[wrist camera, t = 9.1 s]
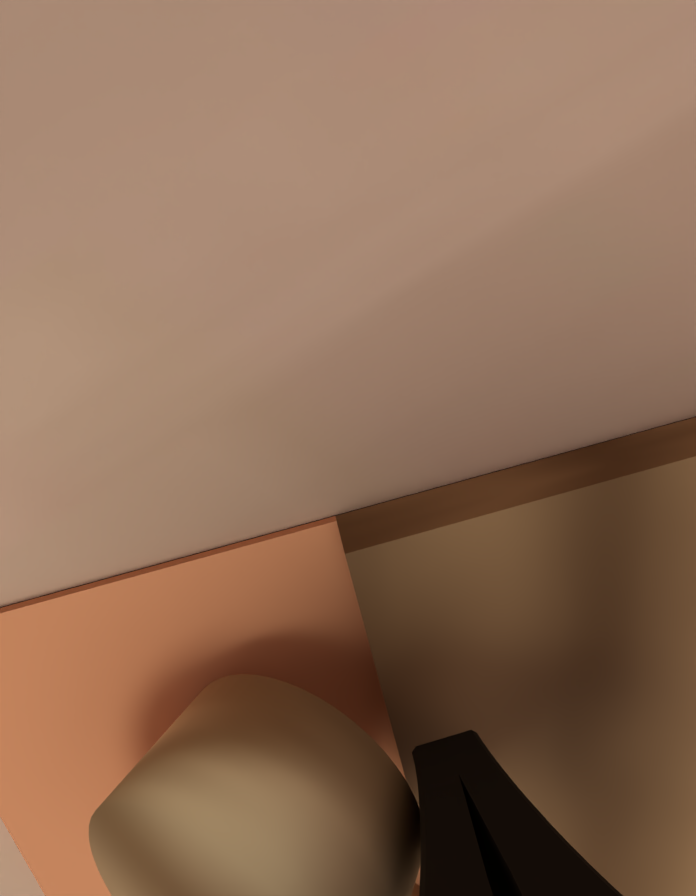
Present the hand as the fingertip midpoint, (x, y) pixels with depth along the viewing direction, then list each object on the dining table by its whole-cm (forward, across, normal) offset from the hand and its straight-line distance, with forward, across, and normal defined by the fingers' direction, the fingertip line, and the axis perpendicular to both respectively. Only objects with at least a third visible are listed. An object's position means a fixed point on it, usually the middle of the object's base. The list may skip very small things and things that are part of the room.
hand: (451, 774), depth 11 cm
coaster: (0, +4, 0) cm, 4 cm away
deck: (+3, -4, +4) cm, 6 cm away
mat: (+3, +6, +4) cm, 8 cm away
